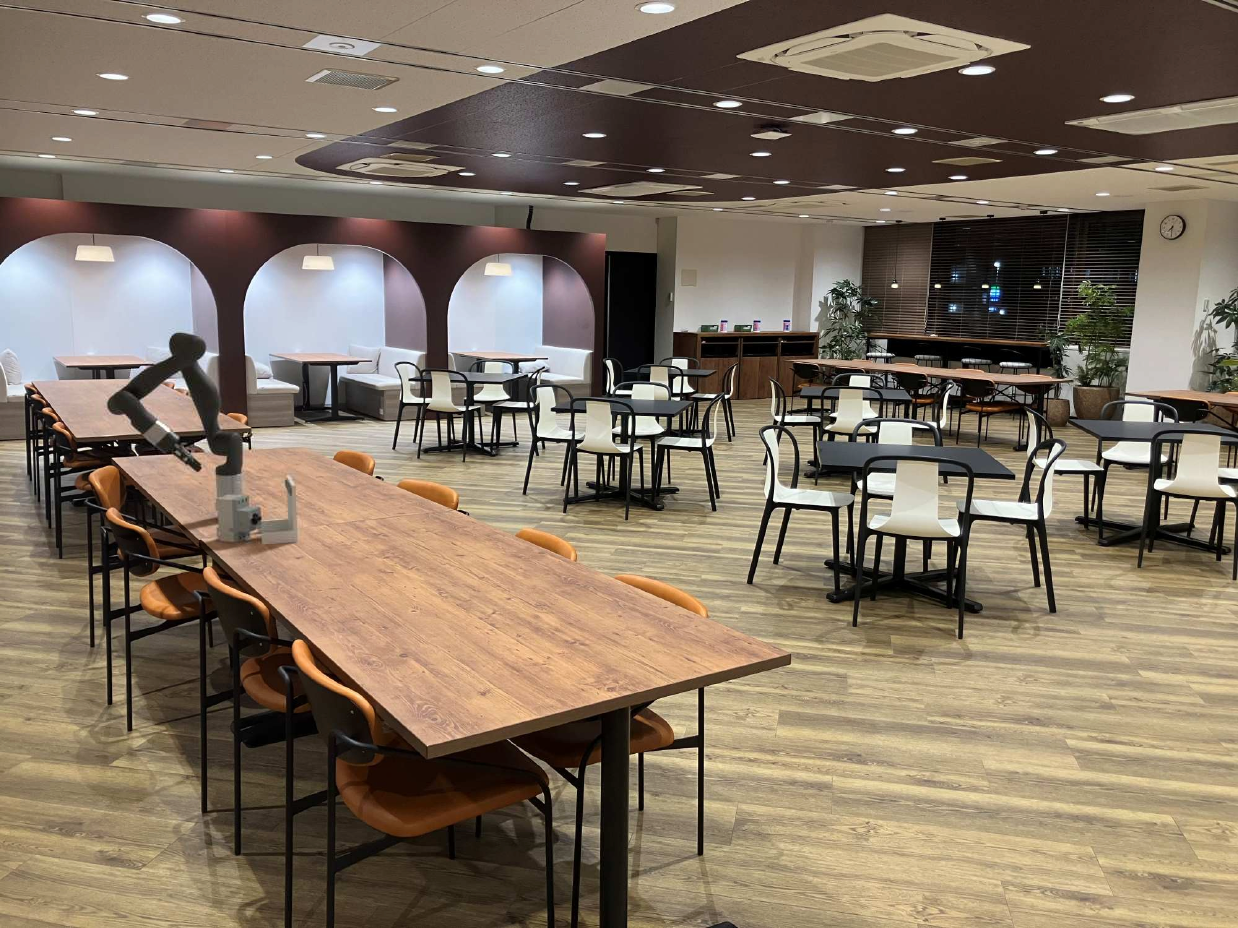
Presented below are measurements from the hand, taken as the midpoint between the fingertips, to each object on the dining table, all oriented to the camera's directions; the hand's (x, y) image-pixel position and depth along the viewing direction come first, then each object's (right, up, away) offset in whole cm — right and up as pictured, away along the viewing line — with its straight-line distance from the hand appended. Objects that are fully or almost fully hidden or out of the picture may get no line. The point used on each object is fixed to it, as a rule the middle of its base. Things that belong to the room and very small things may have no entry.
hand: (199, 468), depth 341 cm
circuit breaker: (+13, -25, +4) cm, 29 cm away
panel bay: (+24, -24, +9) cm, 35 cm away
